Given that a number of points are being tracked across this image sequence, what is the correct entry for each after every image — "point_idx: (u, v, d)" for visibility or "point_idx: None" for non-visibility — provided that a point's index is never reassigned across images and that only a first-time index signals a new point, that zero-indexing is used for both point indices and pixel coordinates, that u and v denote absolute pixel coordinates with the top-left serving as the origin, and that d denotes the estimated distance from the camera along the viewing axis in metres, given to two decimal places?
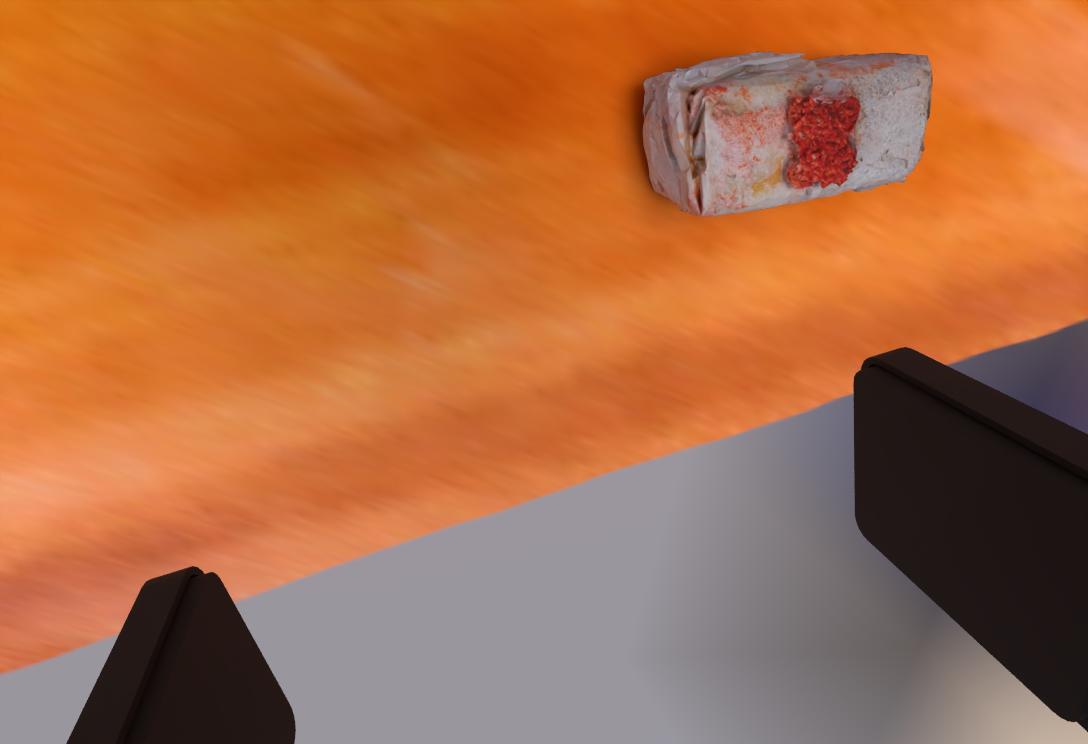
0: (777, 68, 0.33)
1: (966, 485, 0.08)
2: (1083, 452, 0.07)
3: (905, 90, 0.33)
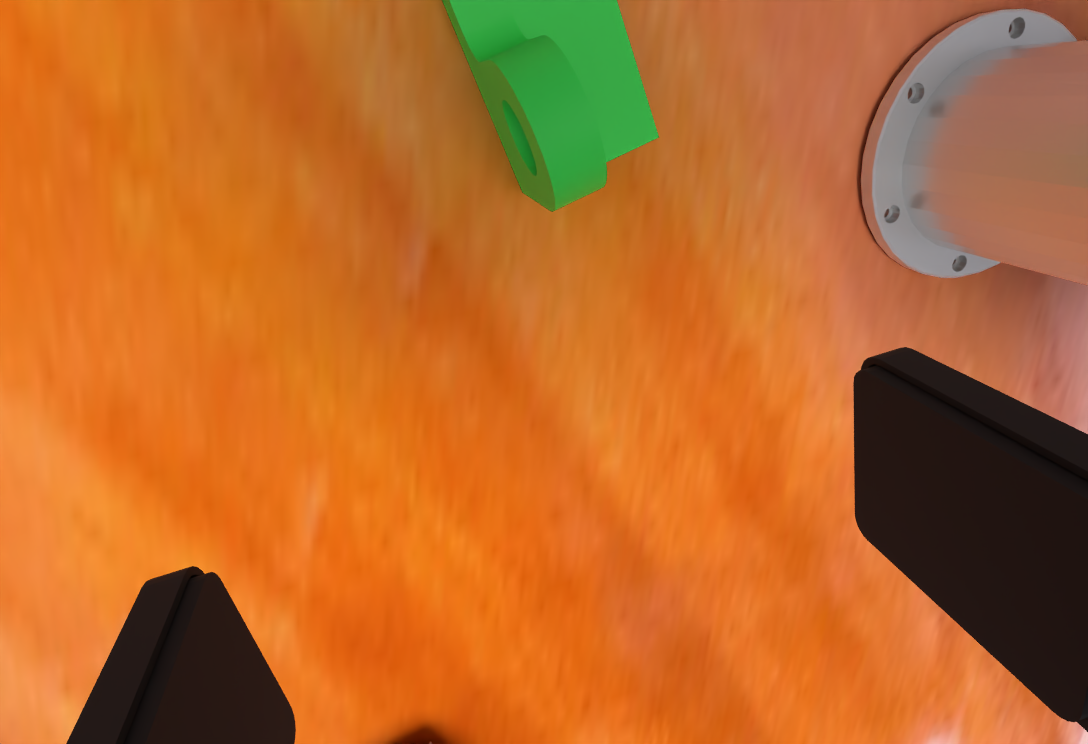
0: None
1: (966, 485, 0.08)
2: (1083, 452, 0.07)
3: None
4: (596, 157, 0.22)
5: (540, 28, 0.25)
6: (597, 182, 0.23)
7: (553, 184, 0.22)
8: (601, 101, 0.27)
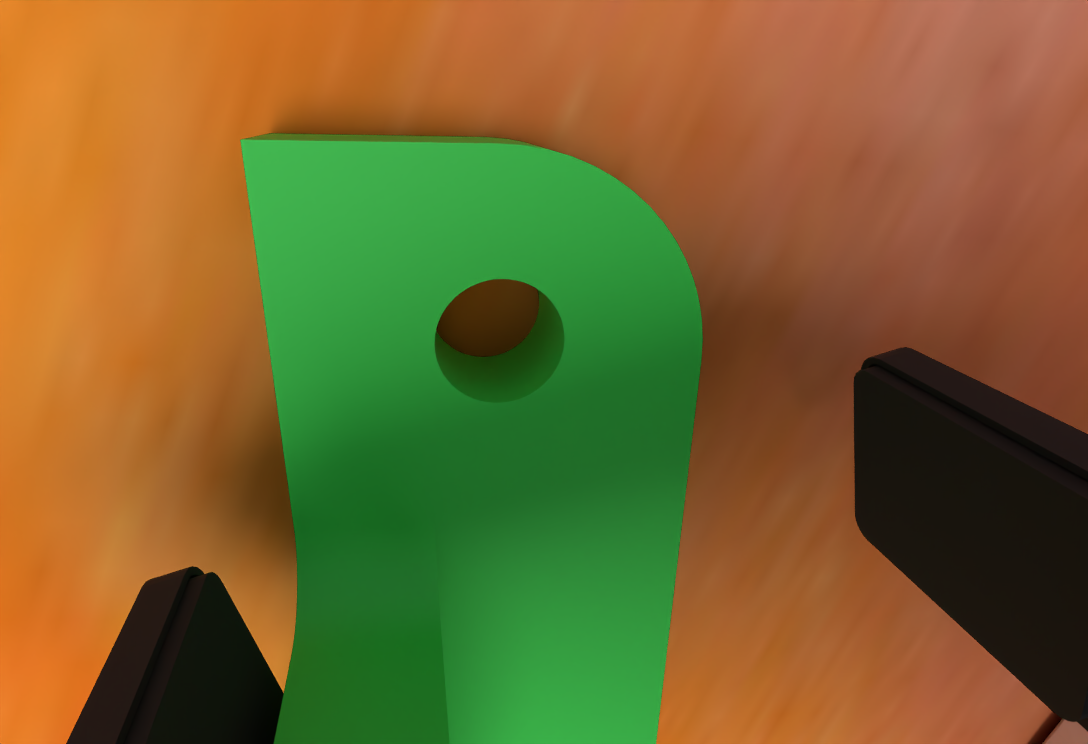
0: None
1: (966, 485, 0.08)
2: (1083, 452, 0.07)
3: None
4: None
5: (489, 567, 0.10)
6: None
7: None
8: (563, 712, 0.12)
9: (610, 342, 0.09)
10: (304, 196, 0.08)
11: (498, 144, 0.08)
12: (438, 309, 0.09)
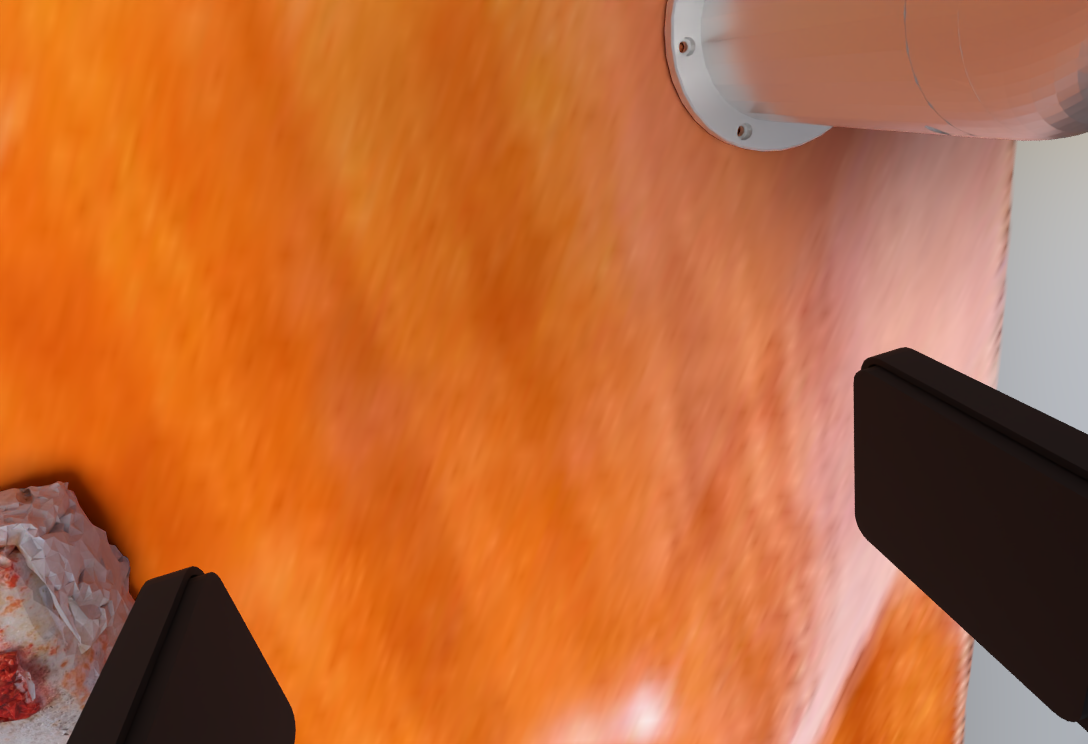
0: (75, 617, 0.33)
1: (966, 485, 0.08)
2: (1083, 452, 0.07)
3: None
4: None
5: None
6: None
7: None
8: None
9: None
10: None
11: None
12: None
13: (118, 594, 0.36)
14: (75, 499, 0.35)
